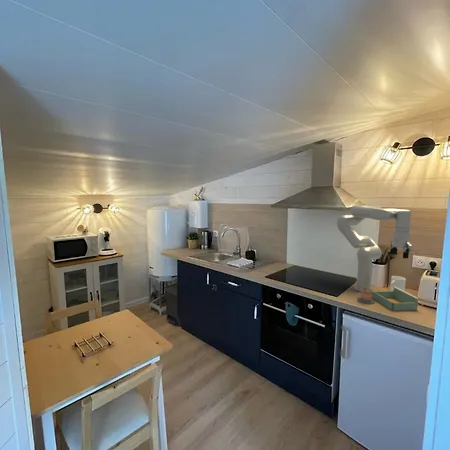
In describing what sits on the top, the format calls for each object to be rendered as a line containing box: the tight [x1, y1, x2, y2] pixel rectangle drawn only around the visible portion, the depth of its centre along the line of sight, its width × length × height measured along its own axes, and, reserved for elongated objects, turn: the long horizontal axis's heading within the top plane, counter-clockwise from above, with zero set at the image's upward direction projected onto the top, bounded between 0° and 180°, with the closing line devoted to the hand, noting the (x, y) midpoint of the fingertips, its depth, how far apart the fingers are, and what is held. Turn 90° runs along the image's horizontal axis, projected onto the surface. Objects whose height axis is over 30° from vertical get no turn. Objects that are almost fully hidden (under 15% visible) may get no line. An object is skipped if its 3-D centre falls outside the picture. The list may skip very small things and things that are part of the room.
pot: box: [360, 288, 374, 302], centre depth 171 cm, size 7×7×7 cm
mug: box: [389, 275, 407, 292], centre depth 186 cm, size 9×12×11 cm
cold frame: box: [372, 287, 419, 312], centre depth 168 cm, size 20×16×8 cm
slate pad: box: [357, 296, 376, 305], centre depth 172 cm, size 10×10×1 cm
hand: (399, 256), depth 167 cm, fingers open, 9 cm apart
